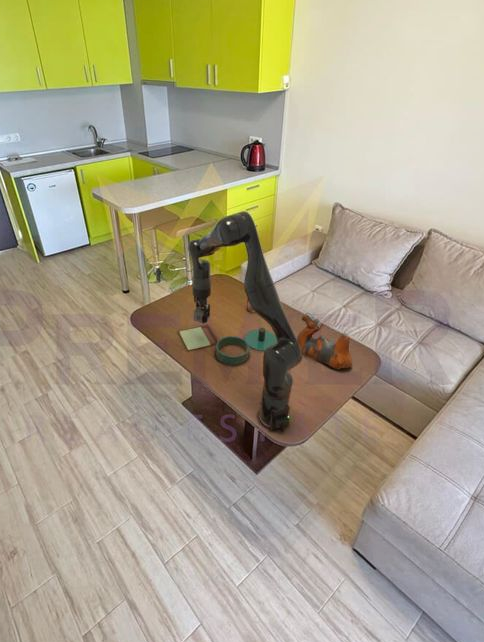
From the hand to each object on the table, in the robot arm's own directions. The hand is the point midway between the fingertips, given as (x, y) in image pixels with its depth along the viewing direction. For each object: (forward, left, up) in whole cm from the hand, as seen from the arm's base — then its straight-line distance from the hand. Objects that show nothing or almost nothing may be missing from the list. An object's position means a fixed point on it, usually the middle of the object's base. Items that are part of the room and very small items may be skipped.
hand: (201, 317), depth 160 cm
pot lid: (-10, -25, -12) cm, 29 cm away
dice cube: (0, 0, -1) cm, 1 cm away
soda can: (+14, -33, -13) cm, 38 cm away
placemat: (+2, +1, -13) cm, 13 cm away
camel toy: (-28, -45, -13) cm, 54 cm away
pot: (-14, -9, -13) cm, 21 cm away
